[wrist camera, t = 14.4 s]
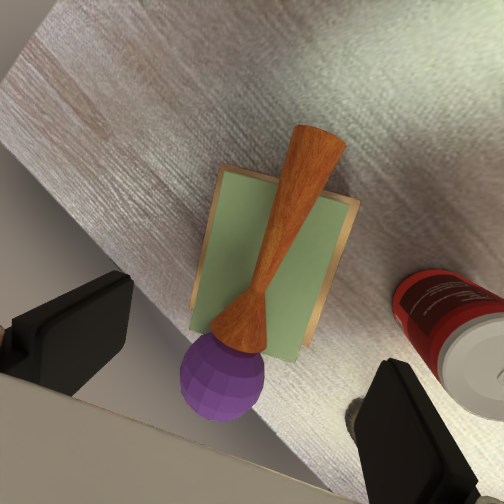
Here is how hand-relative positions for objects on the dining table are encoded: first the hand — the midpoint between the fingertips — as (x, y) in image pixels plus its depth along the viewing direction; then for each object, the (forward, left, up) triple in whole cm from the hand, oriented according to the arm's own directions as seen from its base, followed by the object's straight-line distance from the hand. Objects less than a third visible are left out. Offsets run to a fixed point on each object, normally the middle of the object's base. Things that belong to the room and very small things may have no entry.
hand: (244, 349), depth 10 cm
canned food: (+2, +16, -20) cm, 26 cm away
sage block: (+1, -1, -15) cm, 15 cm away
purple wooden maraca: (+1, 0, -11) cm, 11 cm away
